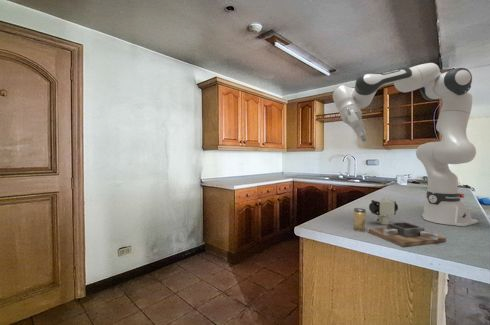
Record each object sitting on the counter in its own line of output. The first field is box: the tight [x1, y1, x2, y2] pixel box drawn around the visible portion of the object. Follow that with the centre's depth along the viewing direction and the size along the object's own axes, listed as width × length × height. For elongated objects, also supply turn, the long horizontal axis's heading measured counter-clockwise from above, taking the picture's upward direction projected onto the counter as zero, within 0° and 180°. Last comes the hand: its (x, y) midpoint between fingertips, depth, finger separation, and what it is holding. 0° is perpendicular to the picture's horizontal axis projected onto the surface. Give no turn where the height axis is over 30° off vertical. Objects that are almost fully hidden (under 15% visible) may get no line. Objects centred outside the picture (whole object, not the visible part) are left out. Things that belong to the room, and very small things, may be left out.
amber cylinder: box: [353, 207, 367, 232], centre depth 100 cm, size 4×4×9 cm
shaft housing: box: [368, 221, 447, 248], centre depth 91 cm, size 20×17×4 cm
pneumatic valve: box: [368, 198, 399, 226], centre depth 109 cm, size 6×12×12 cm, turn 98°
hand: (363, 138), depth 106 cm, fingers open, 8 cm apart
